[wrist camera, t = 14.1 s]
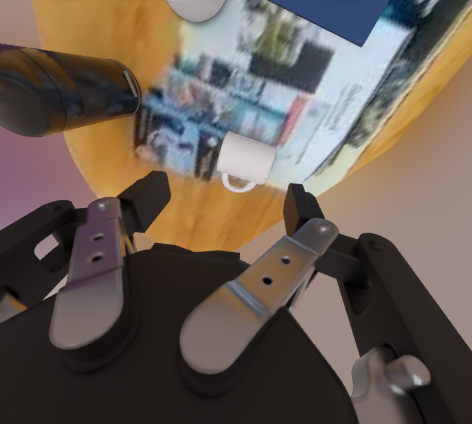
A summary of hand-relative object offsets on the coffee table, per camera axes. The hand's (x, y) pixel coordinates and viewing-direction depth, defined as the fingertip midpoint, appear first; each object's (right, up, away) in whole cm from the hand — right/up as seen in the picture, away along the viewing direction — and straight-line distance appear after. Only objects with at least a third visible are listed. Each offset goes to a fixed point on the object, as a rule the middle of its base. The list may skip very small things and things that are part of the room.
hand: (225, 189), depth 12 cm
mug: (+3, +10, +29) cm, 31 cm away
